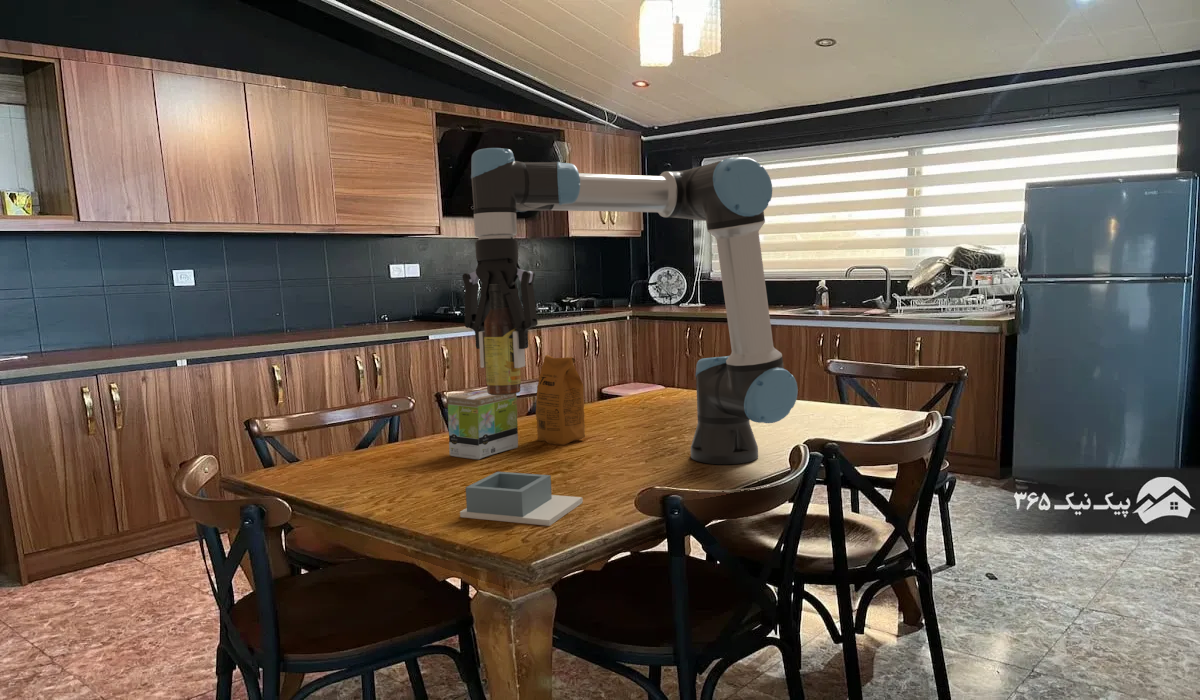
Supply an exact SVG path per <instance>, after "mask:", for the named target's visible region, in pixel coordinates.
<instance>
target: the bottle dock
mask: <svg viewBox="0 0 1200 700" xmlns="http://www.w3.org/2000/svg"><path fill="white" fill-rule="evenodd" d="M551 477H552V476H551V475H550V474H536V473H535V474H534V473H521V472H508V471H507V472H506V471H495V472H494V473H492V474H489V475H487V476H486V477H484V478H482V479H480V480H476V482H474V483H472V484H469V485H468V486H466V487H465V501H466V508H464V509H462V510H461V511H459V517H460V518H468V519H477V520H485V521H486V520H487V521H488V520H489V521H498V522H508V523H516V524H527V525H535V526H536V525H538V526H547V527H548V526H550V527H551V526H552V525H553V524H554V523H555V522H557V521H558V520H560V519H561V518H563V517H565V515H568V513H570V512H571V511H573V510H574V509H576V508H577V507H579V506H580V505H581V504H583V499H584V498H583V496H582V497H581V496H572V495H571V496H570V495H558V494H557V495H555V494H552V478H551Z"/></svg>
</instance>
